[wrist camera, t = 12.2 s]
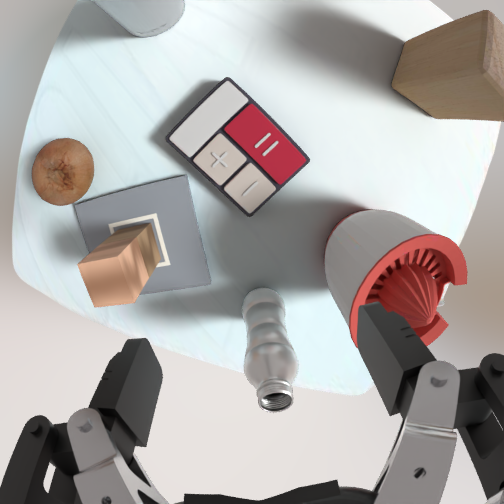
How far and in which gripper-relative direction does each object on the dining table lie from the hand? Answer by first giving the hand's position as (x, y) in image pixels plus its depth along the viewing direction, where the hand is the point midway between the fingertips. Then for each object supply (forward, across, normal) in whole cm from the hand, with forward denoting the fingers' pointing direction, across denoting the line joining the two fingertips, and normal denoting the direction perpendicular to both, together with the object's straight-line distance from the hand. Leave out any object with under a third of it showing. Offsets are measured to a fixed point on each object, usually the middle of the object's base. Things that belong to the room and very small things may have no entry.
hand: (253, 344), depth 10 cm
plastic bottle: (+30, 0, +17) cm, 35 cm away
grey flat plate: (+30, +16, +4) cm, 34 cm away
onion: (+30, +24, -9) cm, 40 cm away
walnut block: (+29, +16, +4) cm, 33 cm away
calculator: (+31, 0, -6) cm, 31 cm away
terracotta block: (+23, +16, +4) cm, 28 cm away
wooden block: (+30, -30, -15) cm, 45 cm away
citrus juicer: (+30, -17, +11) cm, 36 cm away
